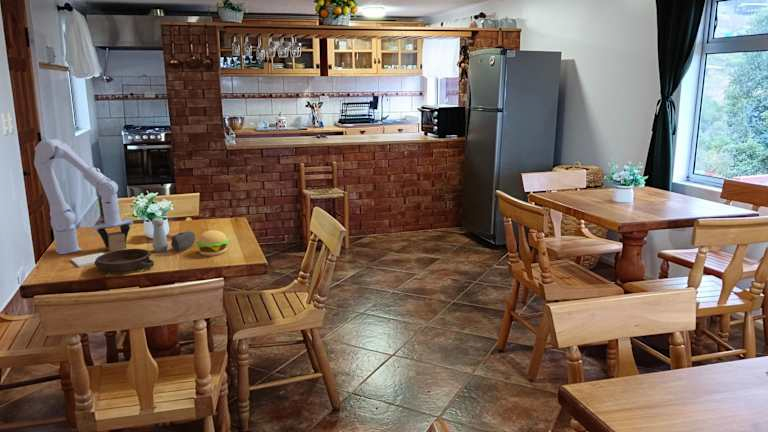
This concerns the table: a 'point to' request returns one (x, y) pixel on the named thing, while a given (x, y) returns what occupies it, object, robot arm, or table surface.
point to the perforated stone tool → (182, 241)
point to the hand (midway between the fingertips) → (115, 245)
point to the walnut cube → (116, 241)
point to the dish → (124, 261)
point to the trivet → (86, 260)
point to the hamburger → (212, 243)
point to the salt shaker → (159, 235)
